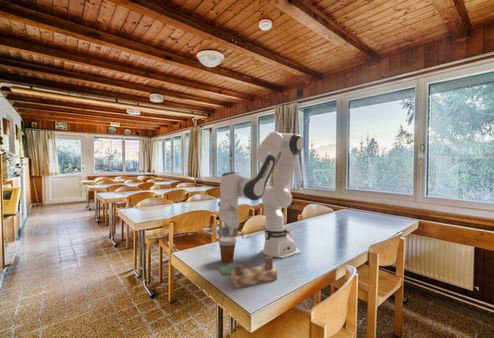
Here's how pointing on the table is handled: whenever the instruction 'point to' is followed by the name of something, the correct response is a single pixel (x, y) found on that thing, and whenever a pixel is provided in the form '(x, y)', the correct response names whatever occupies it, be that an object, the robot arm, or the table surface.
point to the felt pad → (226, 269)
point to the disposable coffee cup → (227, 249)
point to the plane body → (253, 274)
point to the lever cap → (227, 231)
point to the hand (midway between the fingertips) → (228, 232)
